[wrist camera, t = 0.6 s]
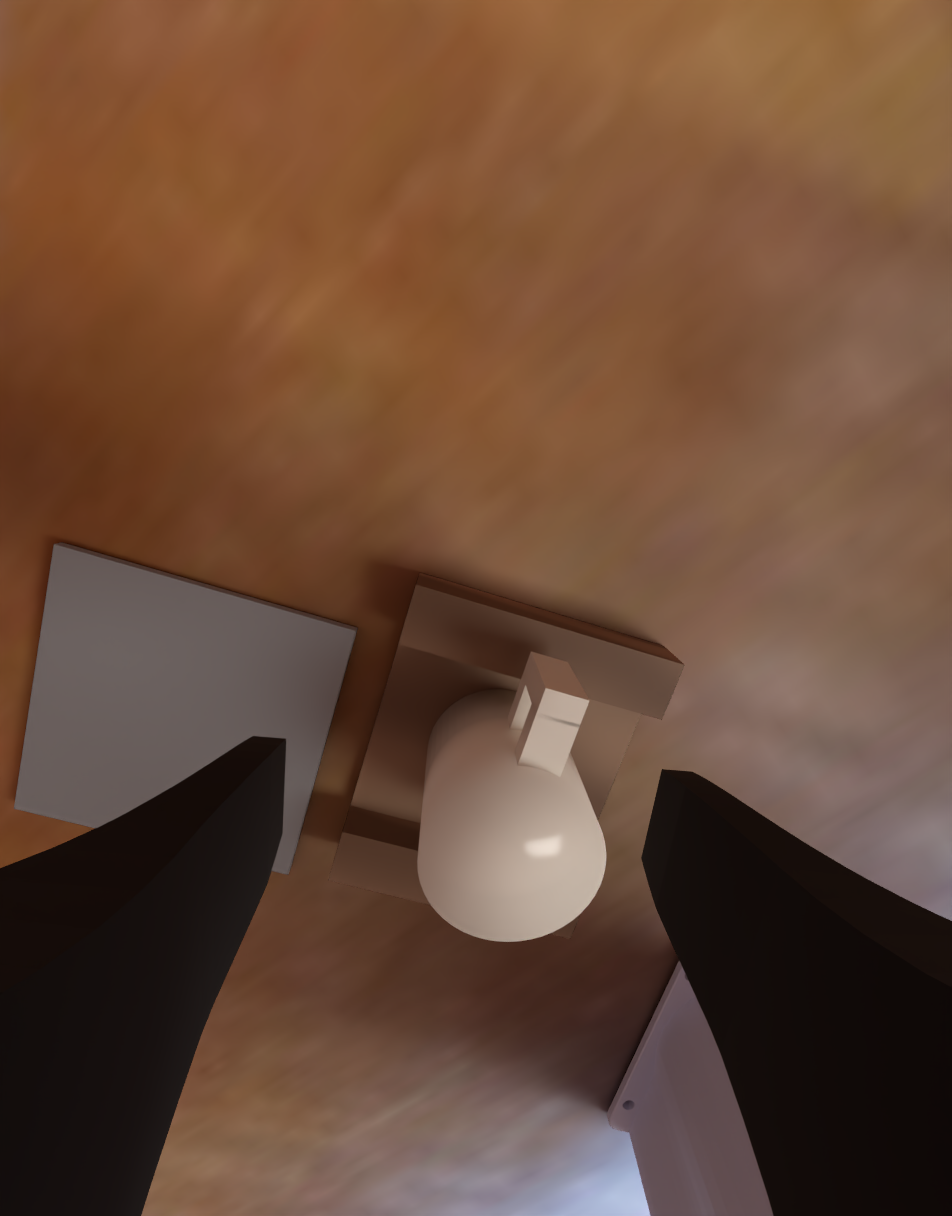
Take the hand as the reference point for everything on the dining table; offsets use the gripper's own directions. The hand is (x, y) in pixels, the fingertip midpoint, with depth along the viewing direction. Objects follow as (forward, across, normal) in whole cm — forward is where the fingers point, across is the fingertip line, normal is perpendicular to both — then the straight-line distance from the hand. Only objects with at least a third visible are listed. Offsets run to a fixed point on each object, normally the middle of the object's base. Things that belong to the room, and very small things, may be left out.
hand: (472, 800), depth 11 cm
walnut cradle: (+10, -2, +4) cm, 11 cm away
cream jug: (+9, -2, +3) cm, 10 cm away
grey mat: (+10, +9, +4) cm, 14 cm away
